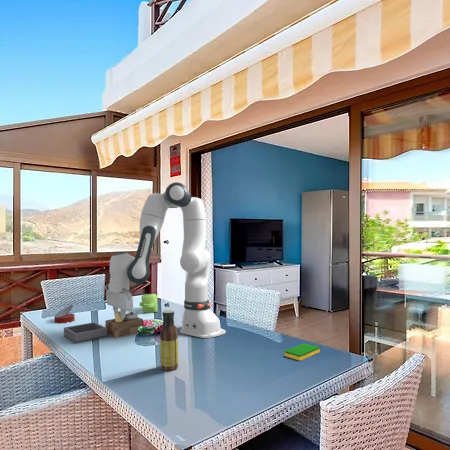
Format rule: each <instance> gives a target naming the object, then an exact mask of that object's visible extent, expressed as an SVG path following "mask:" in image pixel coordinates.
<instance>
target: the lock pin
mask: <svg viewBox="0 0 450 450" xmlns="http://www.w3.org/2000/svg"><path fill="white" fill-rule="evenodd" d="M120 314H121V311H120V310H118V311H117V312H115V316H114V319H115V322H116V323H118V322H124V318H123V319H121V318H120Z"/></svg>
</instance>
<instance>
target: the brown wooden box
mask: <svg viewBox="0 0 450 450" xmlns="http://www.w3.org/2000/svg"><path fill="white" fill-rule="evenodd" d="M104 323H105V326H104V327H106V328H107V336H110V337H112V338H114V339H117V338H120V337H121V338H122V337H126V336H131V335H136V334H139V332H138V327H140V326H143V327H144V319H143V318H141V317H139V313H137V312H133V311H129V313H125V318H124V322H118V323H116V322H115V318H110V319H106V320H105V322H104Z"/></svg>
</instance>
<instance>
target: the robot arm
mask: <svg viewBox="0 0 450 450" xmlns="http://www.w3.org/2000/svg"><path fill="white" fill-rule="evenodd" d="M177 208H180V210H181V213H182V224H183V225H182V227H183V242H182V248H181V249H182V250H181V256H180V259H179V263H180V267H181V269H182V270H183V271H185V272H187V276H186V281H185V283H184V300H183V301H184V302H183V308H184V310H183V311H184V312H183V313H182V320H181V329H180V330H179V333H180V334H183V335H187V336H193V337H197V338H201V339H210V338H215V337H218V336H222V335H225V334H226V332H227V331H226V330H225V329H223V328H222V327H221V321H220V318H219V316H217V315H216V313H214V311H213V310H212V309H211V306H212V302H210V300H209V296H208V295H209V278H210V270H211V261H212V255H211V253H210V251H208V250H207V249H205V248H206V239H207V234H208V233H207V216H206V210H205V204H204V201H203V200H202V198H199V197H195V196H192V194H191V193H190V191H189V189H188V188H187V186H186V185H185V184H184V183H182V182H180V181H179V182H178V181H177V182H172V183H169V185H167V187H166V188H165V191H164V192H163V193H158V192H155V193H154V192H153V193H151V194H149V195H148V196H147V198H146V200H145V202H144V205H143V207H142V210H141V213H140V218H139V242H138V246H137V250H136V254H135V255H134V256H133V255H131V254H130V253H128V252H126V251H123V252H119V253H118V252H117V253H114V254H112V256H111V257H110V260H109V276H110V278H109V283H108V284H106V285H105V287H104V288H105V298H106V299H105V300H106V304H107V305H108V306H111V307H112V310H113V312H114V314H113V315H114V317H115V312H117V311H121V314H120V318H121V319H123V318H125V314H126V312H127V311H132V310H133V309H134V301H133V294H132V293H131V291H130V282H131V283H133V284H137V285H138V284H141V285H142V284H143V283H146V282H147V281H148V280H149V278H150V276H151V267H150V259H151V254H152V251H153V246H154V244H155V241H156V238H157V237H158V235H159V234H160V232H161V229H162V228H163V224H164V222H165V218H166V214H167V211H168V210H169V209H177Z"/></svg>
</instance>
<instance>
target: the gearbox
mask: <svg viewBox="0 0 450 450" xmlns="http://www.w3.org/2000/svg"><path fill="white" fill-rule="evenodd" d="M139 307H141V311H142V313H143V314H147V313H148V314H149V313H150V314H151V313H157V312H159V308H158V307H159V306H158V295H157V294H156V293H149V294H143V295H142V294H141V301H140V302H139Z"/></svg>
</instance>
